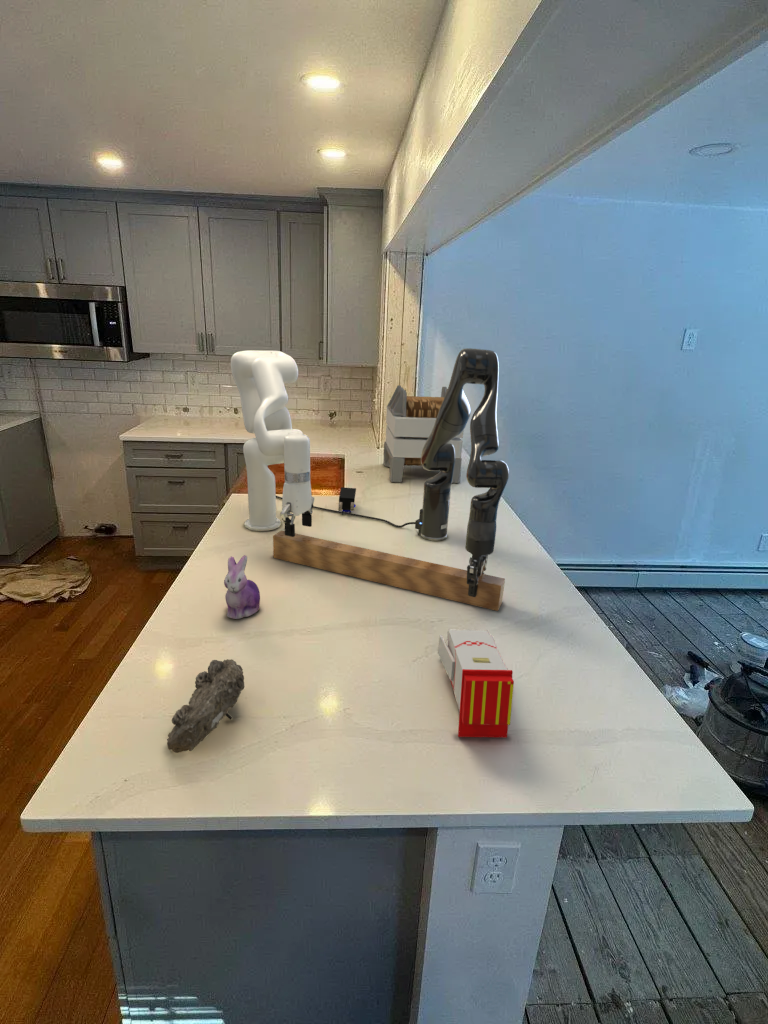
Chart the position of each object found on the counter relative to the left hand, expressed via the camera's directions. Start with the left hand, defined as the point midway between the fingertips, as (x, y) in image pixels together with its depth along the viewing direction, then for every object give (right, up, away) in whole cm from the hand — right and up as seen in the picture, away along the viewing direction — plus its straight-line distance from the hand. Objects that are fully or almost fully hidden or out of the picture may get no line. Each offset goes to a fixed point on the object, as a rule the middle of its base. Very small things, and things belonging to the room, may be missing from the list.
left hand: (298, 530), depth 172 cm
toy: (+44, -32, -54) cm, 76 cm away
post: (+25, -14, -6) cm, 29 cm away
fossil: (-7, -33, -64) cm, 73 cm away
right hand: (+51, -16, -17) cm, 56 cm away
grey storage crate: (+43, +25, +103) cm, 114 cm away
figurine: (-10, -20, -27) cm, 35 cm away
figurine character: (+12, +6, +48) cm, 49 cm away
